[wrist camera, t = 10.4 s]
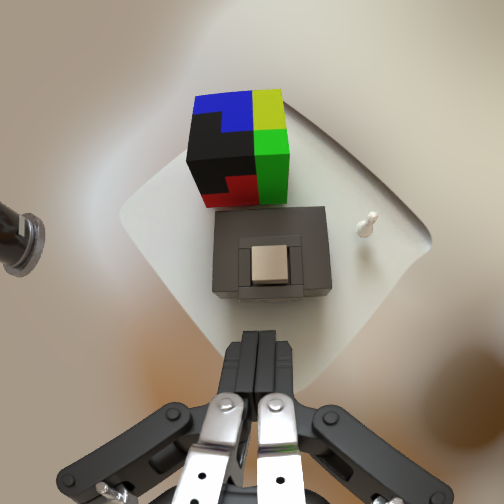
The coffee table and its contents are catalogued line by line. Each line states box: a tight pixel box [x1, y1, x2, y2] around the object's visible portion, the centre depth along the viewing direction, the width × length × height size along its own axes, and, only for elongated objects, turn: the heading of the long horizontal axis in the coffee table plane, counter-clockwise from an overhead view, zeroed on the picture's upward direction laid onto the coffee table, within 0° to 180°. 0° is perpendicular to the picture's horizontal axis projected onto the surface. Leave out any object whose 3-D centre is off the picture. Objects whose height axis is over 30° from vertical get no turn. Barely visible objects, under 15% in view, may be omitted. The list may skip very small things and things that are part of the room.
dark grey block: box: [212, 206, 332, 302], centre depth 31 cm, size 12×10×6 cm
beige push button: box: [252, 245, 288, 284], centre depth 27 cm, size 3×3×2 cm
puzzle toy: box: [186, 89, 290, 208], centre depth 33 cm, size 10×10×10 cm
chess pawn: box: [356, 212, 378, 238], centre depth 32 cm, size 3×2×4 cm
